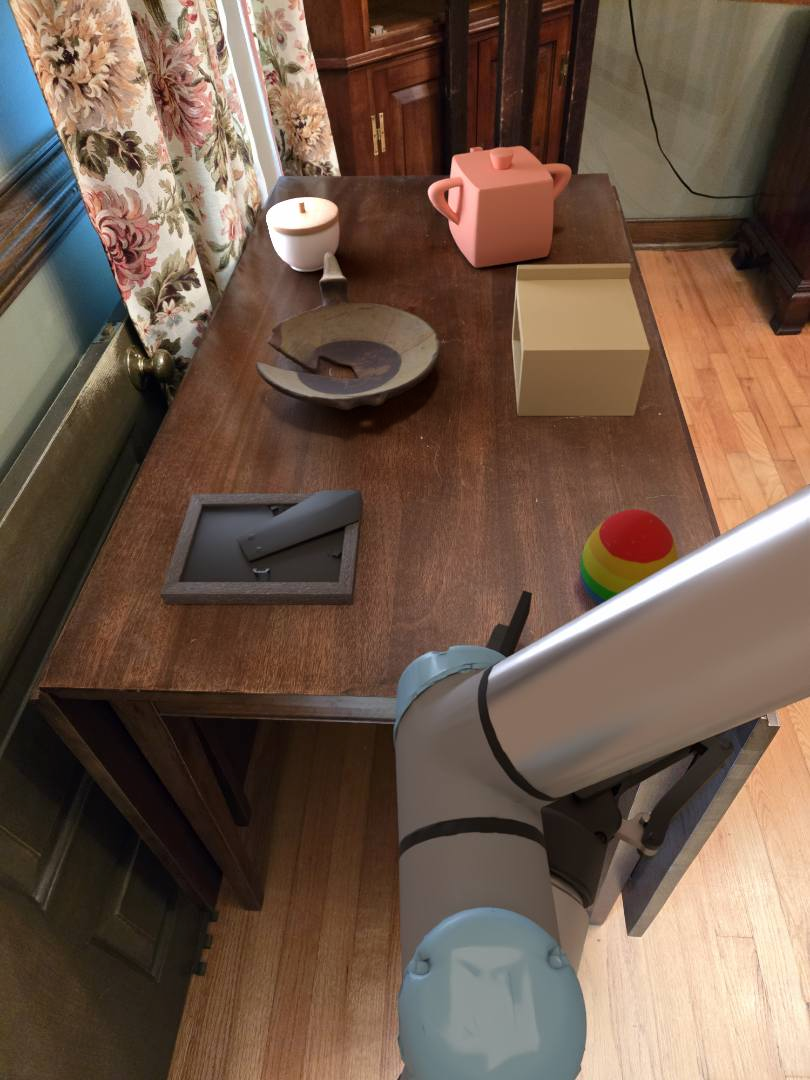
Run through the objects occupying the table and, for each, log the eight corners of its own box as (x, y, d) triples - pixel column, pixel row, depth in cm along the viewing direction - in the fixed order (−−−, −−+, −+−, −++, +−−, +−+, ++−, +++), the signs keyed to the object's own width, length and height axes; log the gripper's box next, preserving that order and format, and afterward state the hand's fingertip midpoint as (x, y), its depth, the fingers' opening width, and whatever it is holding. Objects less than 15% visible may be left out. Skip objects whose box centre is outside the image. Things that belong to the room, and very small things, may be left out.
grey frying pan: (237, 432, 86) (222, 378, 80) (305, 300, 105) (296, 249, 100) (424, 448, 82) (422, 393, 77) (457, 308, 102) (458, 256, 96)
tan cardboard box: (615, 339, 95) (630, 263, 87) (634, 416, 85) (653, 337, 77) (511, 340, 96) (517, 264, 88) (517, 416, 85) (524, 338, 78)
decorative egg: (660, 638, 64) (688, 565, 57) (568, 616, 66) (583, 543, 59) (669, 570, 69) (696, 495, 62) (583, 551, 71) (599, 476, 64)
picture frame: (363, 503, 77) (196, 504, 78) (361, 489, 75) (191, 491, 76) (352, 604, 68) (164, 603, 69) (350, 591, 66) (158, 591, 67)
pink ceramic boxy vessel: (581, 256, 110) (595, 159, 100) (442, 278, 108) (441, 181, 97) (536, 202, 123) (544, 112, 113) (410, 221, 121) (407, 130, 110)
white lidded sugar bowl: (301, 287, 108) (291, 224, 101) (261, 262, 113) (249, 201, 106) (357, 261, 112) (352, 200, 105) (316, 239, 118) (308, 179, 111)
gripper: (357, 832, 52) (461, 608, 64) (724, 989, 44) (759, 701, 57) (346, 788, 46) (462, 553, 59) (764, 960, 39) (792, 648, 52)
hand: (608, 625), depth 58 cm, fingers open, 13 cm apart
